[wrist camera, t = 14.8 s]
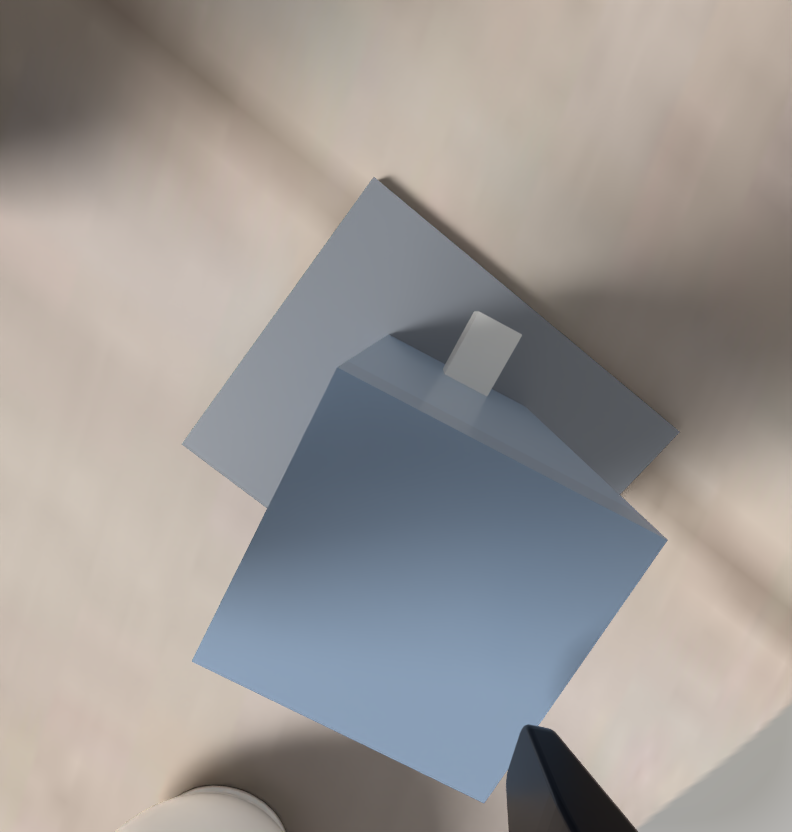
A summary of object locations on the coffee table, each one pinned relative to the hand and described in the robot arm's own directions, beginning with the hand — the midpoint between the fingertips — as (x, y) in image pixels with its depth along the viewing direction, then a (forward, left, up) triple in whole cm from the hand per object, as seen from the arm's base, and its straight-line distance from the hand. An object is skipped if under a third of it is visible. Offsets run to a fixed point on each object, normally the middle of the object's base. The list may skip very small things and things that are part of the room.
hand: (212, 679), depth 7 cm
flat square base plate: (+2, +2, -13) cm, 13 cm away
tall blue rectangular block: (+2, +2, -12) cm, 12 cm away
